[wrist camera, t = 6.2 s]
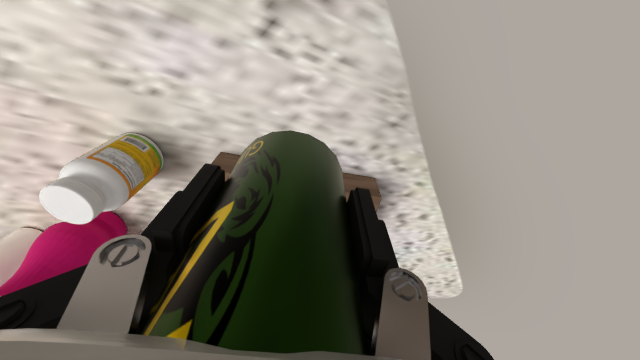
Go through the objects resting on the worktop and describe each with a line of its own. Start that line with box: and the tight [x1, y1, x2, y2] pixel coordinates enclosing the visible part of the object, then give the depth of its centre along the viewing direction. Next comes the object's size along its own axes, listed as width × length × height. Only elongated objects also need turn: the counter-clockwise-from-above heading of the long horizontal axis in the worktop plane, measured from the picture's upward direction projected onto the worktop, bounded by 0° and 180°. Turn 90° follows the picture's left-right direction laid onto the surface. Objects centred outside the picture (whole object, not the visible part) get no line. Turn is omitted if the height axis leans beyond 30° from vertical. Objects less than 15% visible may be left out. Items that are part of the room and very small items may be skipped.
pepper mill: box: [0, 211, 127, 297], centre depth 26 cm, size 7×7×20 cm
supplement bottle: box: [39, 133, 164, 224], centre depth 25 cm, size 5×5×10 cm
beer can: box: [136, 131, 369, 356], centre depth 8 cm, size 5×5×12 cm
